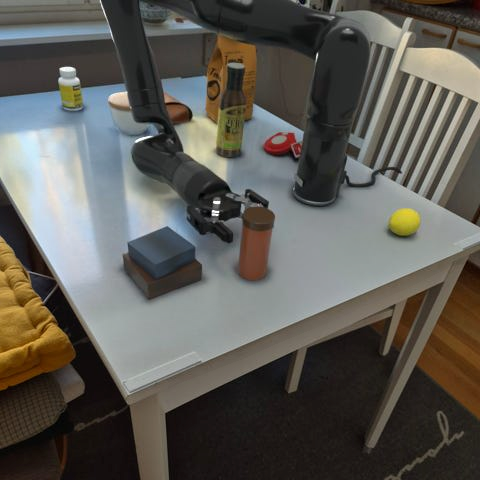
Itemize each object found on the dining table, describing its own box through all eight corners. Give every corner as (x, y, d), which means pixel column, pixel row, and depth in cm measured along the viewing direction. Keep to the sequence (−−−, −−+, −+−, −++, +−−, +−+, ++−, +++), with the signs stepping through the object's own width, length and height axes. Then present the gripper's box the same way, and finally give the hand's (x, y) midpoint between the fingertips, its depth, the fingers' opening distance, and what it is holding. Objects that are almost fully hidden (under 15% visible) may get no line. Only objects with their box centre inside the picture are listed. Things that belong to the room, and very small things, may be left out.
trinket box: (103, 133, 118) (99, 94, 112) (123, 119, 126) (120, 81, 119) (142, 142, 116) (140, 102, 110) (160, 126, 124) (159, 89, 117)
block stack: (175, 252, 85) (174, 222, 80) (201, 279, 80) (202, 249, 75) (124, 269, 80) (120, 238, 76) (148, 299, 75) (146, 268, 71)
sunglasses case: (132, 101, 134) (142, 78, 131) (151, 111, 139) (161, 89, 137) (167, 124, 124) (177, 100, 122) (186, 133, 130) (196, 110, 127)
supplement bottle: (78, 112, 126) (72, 73, 119) (59, 109, 127) (52, 70, 120) (86, 106, 130) (81, 67, 123) (68, 103, 131) (62, 64, 124)
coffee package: (200, 113, 133) (202, 24, 117) (238, 108, 138) (244, 22, 123) (218, 127, 127) (222, 34, 112) (256, 121, 132) (265, 32, 117)
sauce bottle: (223, 160, 113) (229, 70, 99) (211, 150, 116) (214, 62, 102) (246, 156, 115) (254, 68, 101) (233, 146, 119) (239, 59, 105)
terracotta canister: (255, 259, 85) (262, 203, 77) (272, 274, 82) (281, 218, 74) (231, 267, 83) (236, 211, 75) (248, 284, 80) (255, 227, 72)
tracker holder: (257, 148, 116) (272, 125, 121) (260, 163, 120) (275, 141, 125) (303, 149, 111) (316, 126, 116) (305, 166, 114) (318, 142, 119)
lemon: (392, 242, 93) (401, 219, 89) (379, 227, 96) (386, 204, 92) (422, 238, 94) (432, 215, 91) (408, 224, 98) (416, 201, 94)
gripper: (166, 178, 81) (218, 223, 72) (233, 161, 88) (288, 201, 79) (167, 216, 86) (216, 262, 77) (230, 197, 93) (282, 238, 84)
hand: (252, 231), depth 78 cm, fingers open, 8 cm apart
